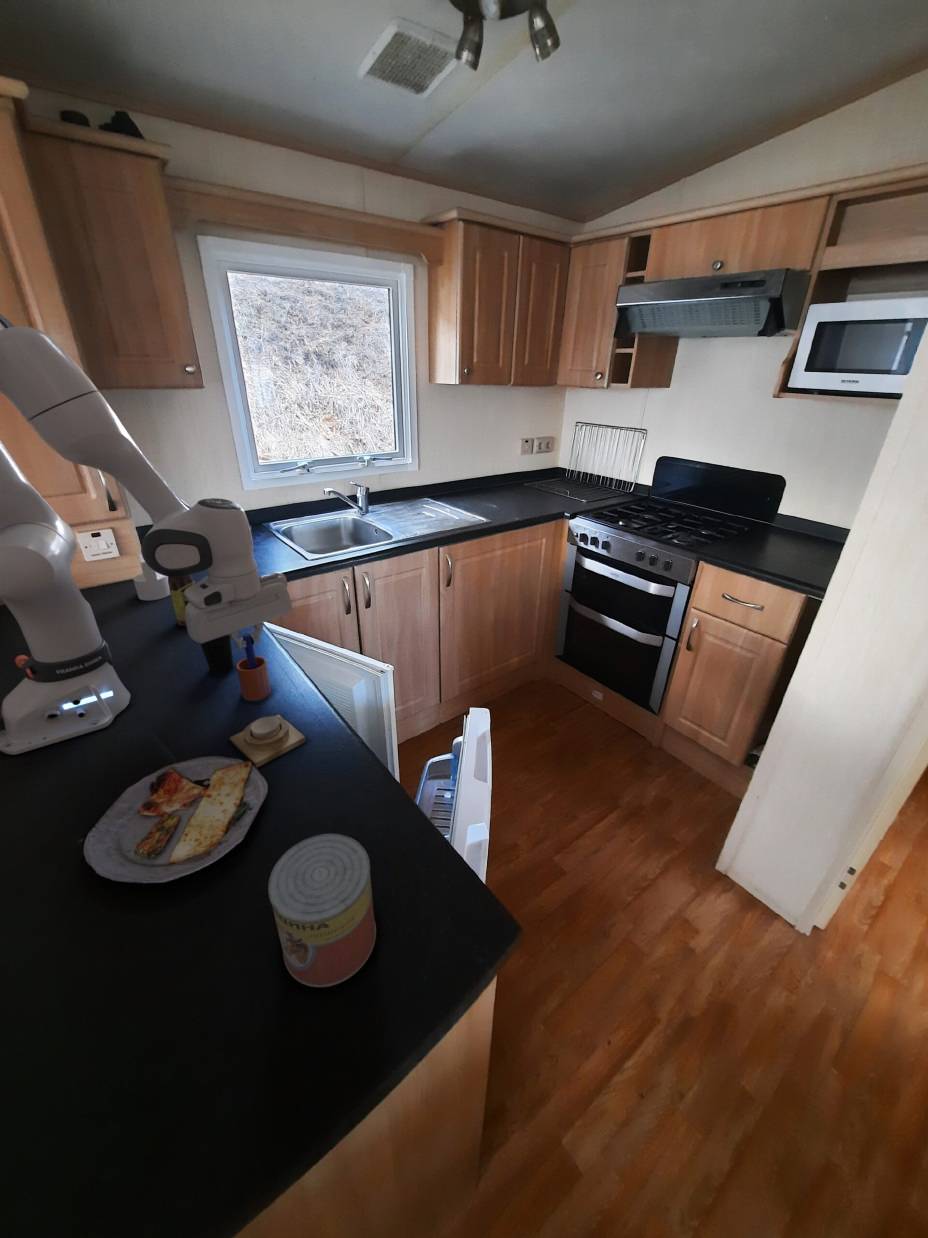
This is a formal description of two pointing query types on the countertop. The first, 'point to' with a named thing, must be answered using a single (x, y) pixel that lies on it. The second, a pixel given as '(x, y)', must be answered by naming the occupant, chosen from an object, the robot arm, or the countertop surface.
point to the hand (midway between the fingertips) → (248, 645)
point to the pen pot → (254, 679)
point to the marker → (250, 651)
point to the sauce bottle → (180, 595)
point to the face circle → (265, 728)
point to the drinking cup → (218, 655)
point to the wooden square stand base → (267, 743)
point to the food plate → (176, 820)
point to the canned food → (324, 909)
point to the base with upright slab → (151, 583)
